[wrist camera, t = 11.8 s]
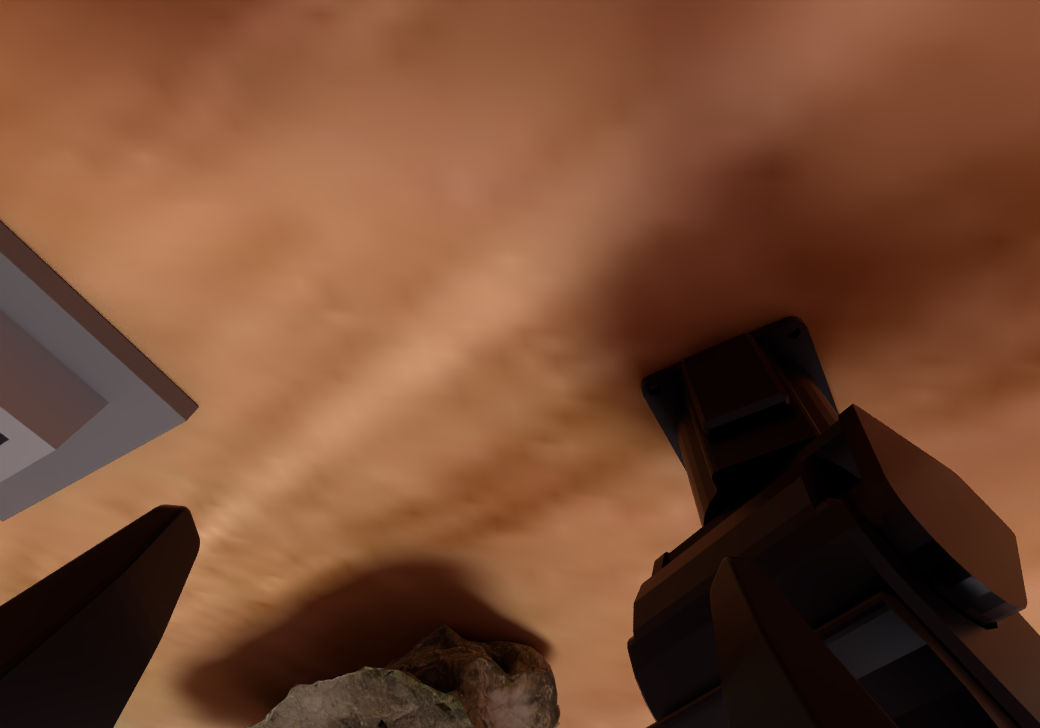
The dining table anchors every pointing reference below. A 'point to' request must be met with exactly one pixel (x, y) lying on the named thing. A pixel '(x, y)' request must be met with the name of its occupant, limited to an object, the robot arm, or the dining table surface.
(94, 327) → the can holder
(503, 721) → the hollow geode rock
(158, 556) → the robot arm
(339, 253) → the dining table surface
